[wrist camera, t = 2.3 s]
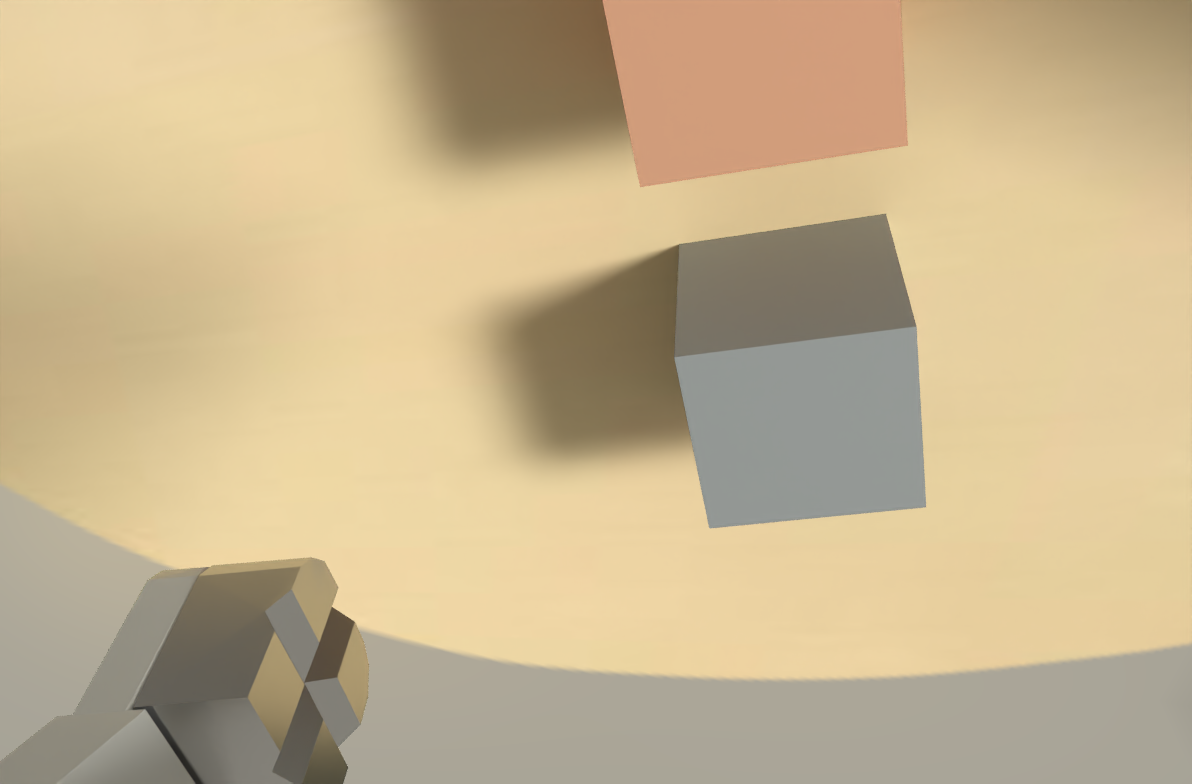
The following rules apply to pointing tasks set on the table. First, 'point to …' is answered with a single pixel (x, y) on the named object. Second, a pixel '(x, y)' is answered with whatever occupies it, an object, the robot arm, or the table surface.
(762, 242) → the slate block
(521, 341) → the table surface
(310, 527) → the table surface
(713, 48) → the terracotta block
